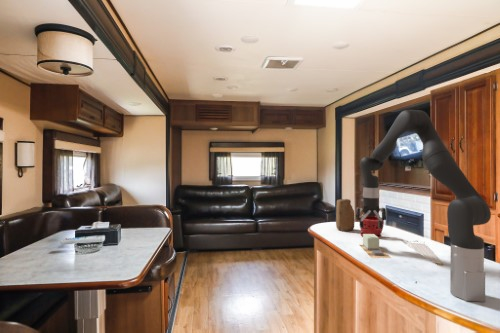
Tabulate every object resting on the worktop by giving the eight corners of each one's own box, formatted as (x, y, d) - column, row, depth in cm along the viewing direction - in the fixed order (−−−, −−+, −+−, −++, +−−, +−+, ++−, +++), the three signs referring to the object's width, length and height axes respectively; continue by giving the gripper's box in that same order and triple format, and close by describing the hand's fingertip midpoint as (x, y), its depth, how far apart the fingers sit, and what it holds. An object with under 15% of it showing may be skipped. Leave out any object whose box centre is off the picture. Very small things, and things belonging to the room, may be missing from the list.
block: (338, 231, 191) (338, 200, 190) (335, 228, 198) (335, 198, 198) (355, 231, 191) (355, 200, 190) (351, 228, 199) (351, 198, 198)
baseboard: (417, 264, 134) (443, 266, 131) (417, 258, 134) (443, 260, 131) (404, 245, 162) (424, 246, 160) (404, 239, 162) (424, 241, 159)
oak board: (391, 261, 136) (391, 257, 136) (371, 260, 137) (371, 257, 137) (376, 247, 156) (376, 244, 156) (359, 247, 157) (359, 244, 157)
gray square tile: (383, 255, 140) (383, 253, 139) (374, 255, 140) (374, 252, 140) (380, 252, 143) (380, 250, 143) (371, 252, 144) (371, 250, 144)
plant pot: (361, 240, 171) (361, 219, 170) (357, 234, 184) (357, 214, 183) (386, 241, 168) (386, 220, 168) (380, 235, 181) (380, 215, 181)
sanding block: (379, 250, 147) (379, 238, 147) (367, 250, 148) (367, 238, 148) (373, 245, 155) (373, 234, 155) (363, 245, 156) (363, 233, 156)
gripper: (358, 197, 148) (358, 230, 148) (388, 197, 146) (388, 230, 147) (354, 195, 155) (354, 226, 156) (382, 195, 154) (382, 226, 155)
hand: (370, 228), depth 151 cm, fingers open, 8 cm apart
